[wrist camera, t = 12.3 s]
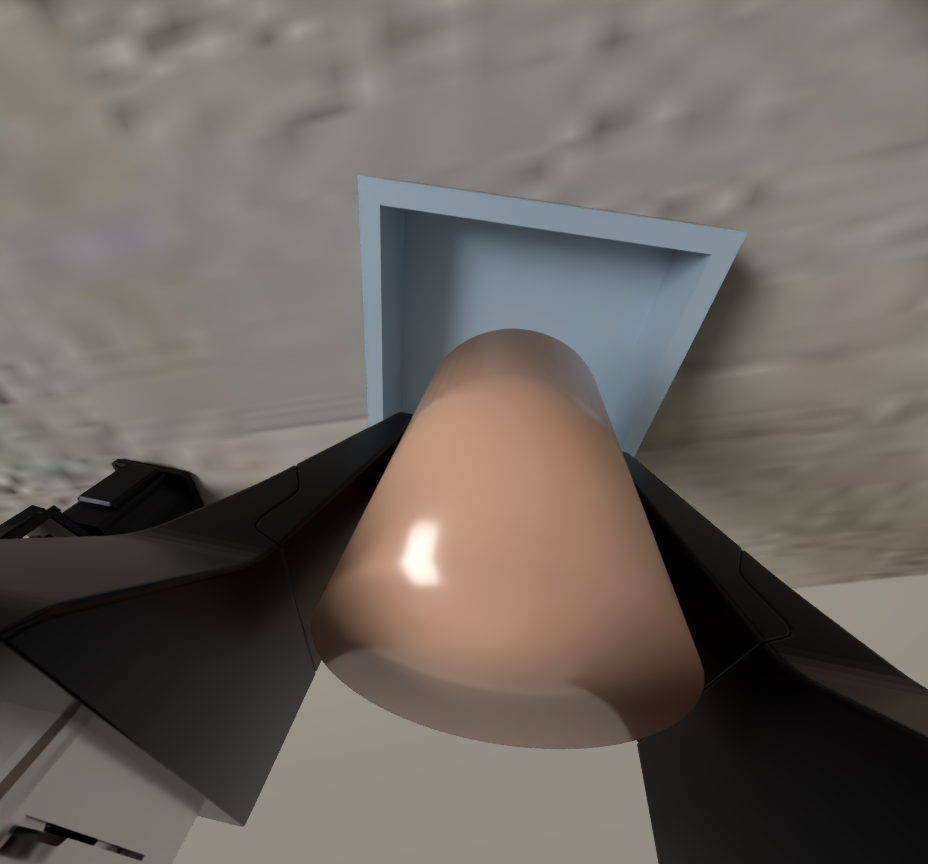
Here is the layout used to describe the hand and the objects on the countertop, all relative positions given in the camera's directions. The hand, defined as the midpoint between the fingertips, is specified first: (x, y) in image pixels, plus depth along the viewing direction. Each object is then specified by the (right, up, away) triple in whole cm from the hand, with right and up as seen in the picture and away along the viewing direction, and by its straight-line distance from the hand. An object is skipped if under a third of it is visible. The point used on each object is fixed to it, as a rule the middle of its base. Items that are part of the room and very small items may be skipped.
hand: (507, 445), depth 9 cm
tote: (+1, +2, +12) cm, 13 cm away
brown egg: (0, +1, +1) cm, 2 cm away
